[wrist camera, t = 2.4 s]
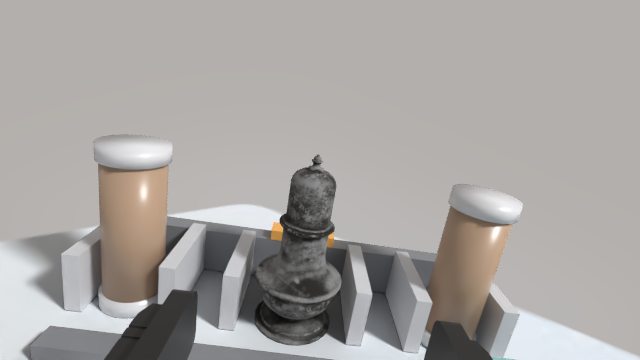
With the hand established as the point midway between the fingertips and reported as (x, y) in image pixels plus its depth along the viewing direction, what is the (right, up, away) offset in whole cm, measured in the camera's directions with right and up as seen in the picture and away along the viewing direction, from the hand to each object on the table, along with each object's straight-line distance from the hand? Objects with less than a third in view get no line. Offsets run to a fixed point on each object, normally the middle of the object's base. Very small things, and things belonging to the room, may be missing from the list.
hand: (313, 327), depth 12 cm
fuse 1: (-13, -3, +13) cm, 18 cm away
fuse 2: (+9, -6, +14) cm, 18 cm away
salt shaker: (-2, -5, +13) cm, 14 cm away
